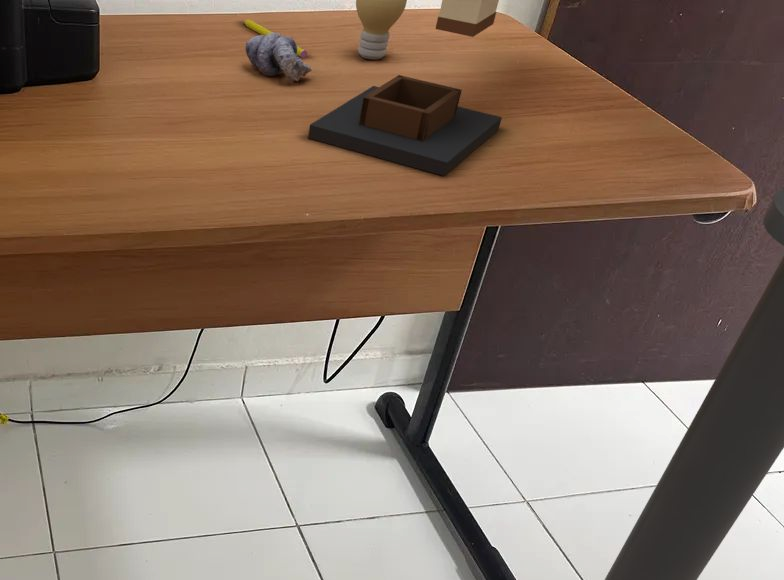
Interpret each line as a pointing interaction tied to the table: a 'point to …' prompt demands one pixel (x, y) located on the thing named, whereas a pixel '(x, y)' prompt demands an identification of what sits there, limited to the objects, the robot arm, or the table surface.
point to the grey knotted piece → (276, 56)
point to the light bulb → (377, 25)
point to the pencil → (264, 32)
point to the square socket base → (408, 125)
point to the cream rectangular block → (466, 16)
